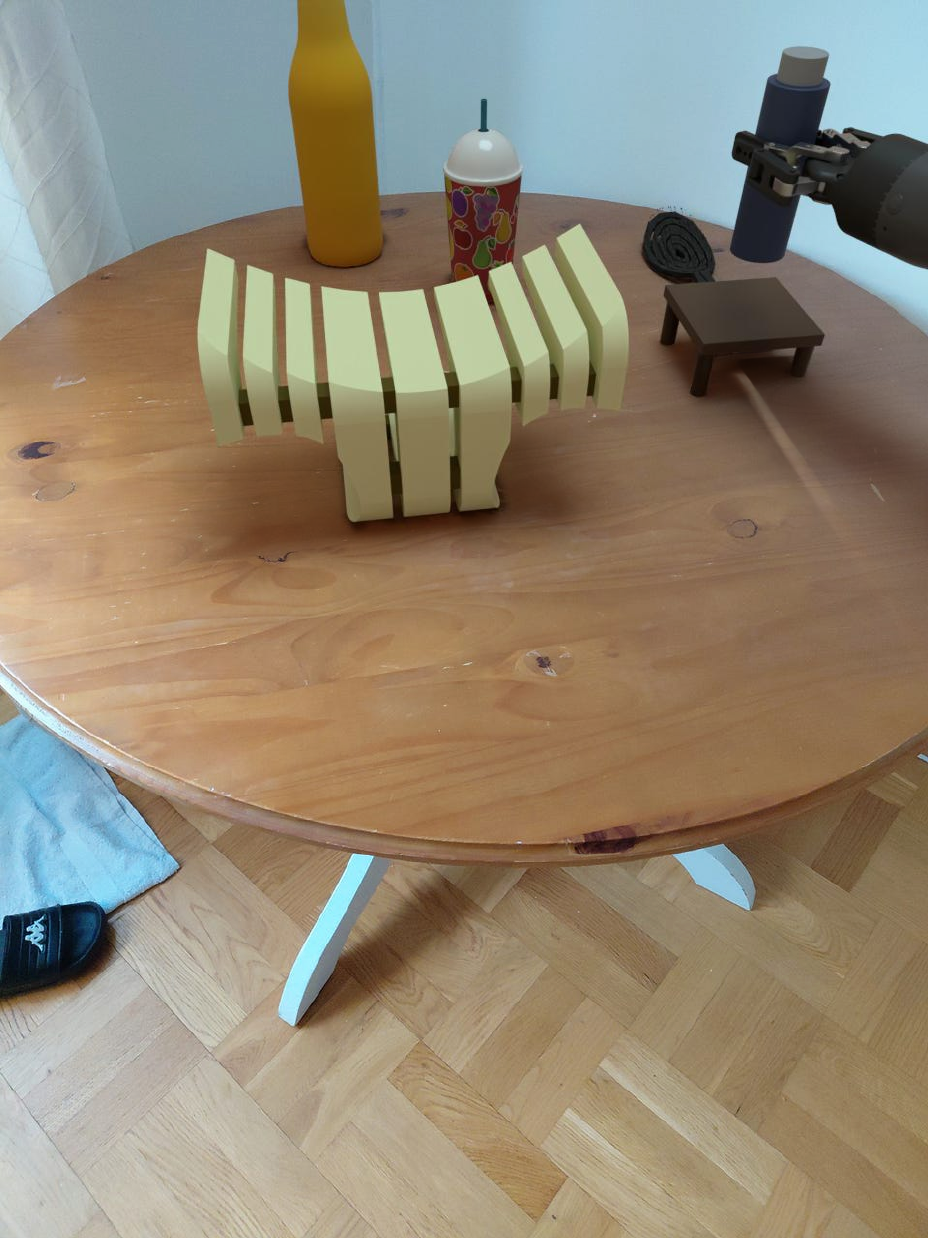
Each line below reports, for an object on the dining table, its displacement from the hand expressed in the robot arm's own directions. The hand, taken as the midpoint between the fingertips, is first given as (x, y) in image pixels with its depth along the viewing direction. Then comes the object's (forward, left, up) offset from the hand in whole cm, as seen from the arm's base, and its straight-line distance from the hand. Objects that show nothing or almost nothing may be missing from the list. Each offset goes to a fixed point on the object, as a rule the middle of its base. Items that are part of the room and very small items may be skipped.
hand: (761, 138), depth 75 cm
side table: (-1, +2, -21) cm, 21 cm away
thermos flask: (-1, +3, -9) cm, 9 cm away
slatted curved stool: (+33, +16, -21) cm, 42 cm away
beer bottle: (+37, -30, -21) cm, 52 cm away
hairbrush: (-3, -16, -21) cm, 27 cm away
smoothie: (+22, -17, -21) cm, 35 cm away
